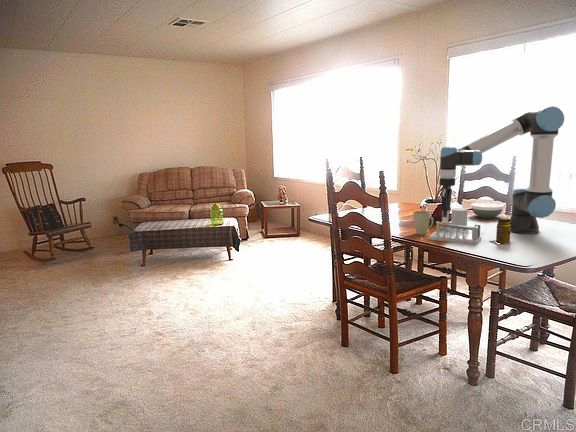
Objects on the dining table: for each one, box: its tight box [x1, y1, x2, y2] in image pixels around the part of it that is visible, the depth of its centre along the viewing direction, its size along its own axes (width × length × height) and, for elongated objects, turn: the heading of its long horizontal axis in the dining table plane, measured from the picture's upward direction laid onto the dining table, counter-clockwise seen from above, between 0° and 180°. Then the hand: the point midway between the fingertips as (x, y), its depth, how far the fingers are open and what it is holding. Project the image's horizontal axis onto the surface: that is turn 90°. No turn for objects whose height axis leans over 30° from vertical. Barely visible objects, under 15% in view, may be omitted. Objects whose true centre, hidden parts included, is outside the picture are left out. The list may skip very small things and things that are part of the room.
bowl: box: [470, 201, 505, 220], centre depth 260 cm, size 19×19×8 cm
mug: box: [412, 210, 435, 235], centre depth 226 cm, size 11×10×12 cm
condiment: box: [488, 217, 513, 246], centre depth 202 cm, size 7×8×12 cm
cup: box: [450, 207, 468, 233], centre depth 230 cm, size 8×8×12 cm
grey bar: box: [439, 221, 481, 231], centre depth 211 cm, size 19×4×2 cm, turn 55°
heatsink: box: [428, 221, 483, 245], centre depth 212 cm, size 23×12×8 cm, turn 55°
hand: (445, 222), depth 214 cm, fingers closed
